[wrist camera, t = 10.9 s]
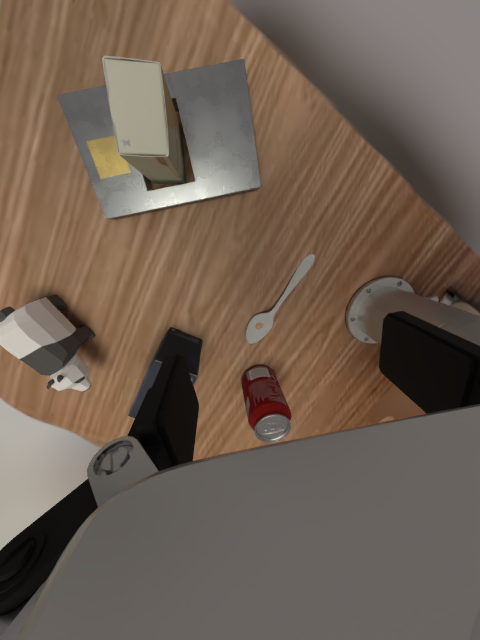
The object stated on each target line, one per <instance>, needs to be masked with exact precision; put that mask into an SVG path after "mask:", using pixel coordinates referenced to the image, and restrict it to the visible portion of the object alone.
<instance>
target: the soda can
mask: <svg viewBox="0 0 480 640" xmlns="http://www.w3.org/2000/svg"><path fill="white" fill-rule="evenodd" d="M242 389H243V394H244V400H245V405H246V411H247V416H248V422H249V426H250V428H251V429H252V430H253V431H254V432H255V435H256V437H257V438H258V439H259V440H261V441H264V442H276V441H279V440H281V439H283V438H284V437H286V436H287V435H288V433H289V432H290V429H291V423H290V421H291V412H290V409H289V407H288V404H287V402H286V400H285V397H284V395H283V392H282V390H281V388H280V385H279V383H278V380H277V378H276V376H275V373H274V372H273V371H272V370H271V369H270V368H268V367H264V366H257V367H253V368H251V369H249V370H248V371H247V372H246V373H245V374H244V375H243V377H242Z"/></svg>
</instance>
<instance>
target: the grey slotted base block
mask: <svg viewBox="0 0 480 640" xmlns="http://www.w3.org/2000/svg"><path fill="white" fill-rule="evenodd" d="M164 77H165V80H166V83H167V86H168V90H169V93H170V96H171V99H172V102H173V105H174V108H175V111H179V113H180V117H181V122H182V126H183V130H184V134H185V139H186V143H187V147H188V151H189V156H190V160H191V164H192V168H193V173H194V177H195V182H190V183H186V184H181V185H176V186H171V187H166V188H161V189H156V190H152V188H151V185H150V181H149V179H148V178H147V177H146V176H144V175H143V174H142V173H141V172H139V171H138V170H137V169H136V168H134V167H133V166H132V165H131V164H130V163H128V162H127V161H126V160H125V159H123V158H122V157H121V156H120V155H118V153H117V147H116V141H115V135H114V129H113V123H112V117H111V112H110V106H109V100H108V93H107V87H106V86H101V87H96V88H90V89H85V90H80V91H75V92H70V93H64V94H59V95H57V97H58V99H59V102H60V104H61V107H62V109H63V112H64V114H65V117H66V119H67V122H68V124H69V127H70V129H71V132H72V134H73V137H74V139H75V142H76V145H77V147H78V150H79V152H80V155H81V157H82V160H83V162H84V165H85V167H86V170H87V172H88V175H89V177H90V180H91V182H92V185H93V187H94V190H95V192H96V195H97V197H98V200H99V202H100V205H101V207H102V210H103V212H104V215H105V217H106V219H120V218H125V217H130V216H135V215H140V214H144V213H149V212H154V211H159V210H163V209H168V208H173V207H178V206H183V205H187V204H192V203H197V202H202V201H207V200H211V199H216V198H221V197H226V196H230V195H235V194H240V193H245V192H250V191H254V190H257V189H259V188H260V187H261V182H260V175H259V167H258V160H257V152H256V145H255V137H254V130H253V122H252V115H251V108H250V100H249V93H248V85H247V78H246V70H245V63H244V59H240V60H235V61H230V62H225V63H220V64H215V65H209V66H204V67H199V68H194V69H189V70H184V71H178V72H173V73H168V74H164Z"/></svg>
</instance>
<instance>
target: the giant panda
mask: <svg viewBox="0 0 480 640" xmlns="http://www.w3.org/2000/svg"><path fill="white" fill-rule="evenodd" d="M66 308H67V306H66V304H65V303H64V302H63V301H62V299H60V298H59V297H58V296H57V295H54V296H50V297H44V298H41V299H39V300H36V301H33V302H30V303H28V304H26V305H24V306H22V307H20V308H18V309H17V310H14V309H13V308H11V307H7V308H4V309H2V310H1V311H0V345H1V346H2V347H4V348H5V349H6V350H7V351H8V352H10V353H11V354H13V355H14V356H16V357H17V358H19V359H20V360H21V361H23V362H24V363H26V364H27V365H29V366H30V367H32V368H33V369H35V370H36V371H37V372H38V373H40V374H41V375H49V376H50V381H49V382H48V385H47V389H49V388H50V387H53V388H55V389H56V390H58V391H61V390H65V389H66V390H67V389H69V388H72V389H75V390H79V391H82V392H85V391H87V390H88V389H89V388H90V387H91V382H90V380H89V378H88V374H89V372H90V370H89V368H88V367H87V365H86V364H85V362H84V361H83V360H82V358H81V357H80V355H78V354H77V351H78V349H79V347H80V346H81V345H82V343H83V342H84V341H85V340H86V339H92V338H94V337H95V334H94V332H93V331H92V330H91V329H90V328H88V327H87V326H86V325H85V326H81V327H79V328H75V327H74V326H73V325H72V324H71V322H70V321H69V320H68V319H67V318H66V317H65V316H64V315H63V314H62V313H61V312H60V311H61V310H65V309H66Z"/></svg>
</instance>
